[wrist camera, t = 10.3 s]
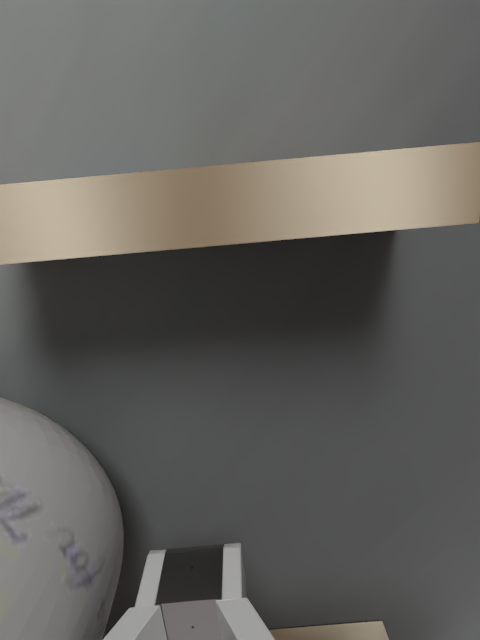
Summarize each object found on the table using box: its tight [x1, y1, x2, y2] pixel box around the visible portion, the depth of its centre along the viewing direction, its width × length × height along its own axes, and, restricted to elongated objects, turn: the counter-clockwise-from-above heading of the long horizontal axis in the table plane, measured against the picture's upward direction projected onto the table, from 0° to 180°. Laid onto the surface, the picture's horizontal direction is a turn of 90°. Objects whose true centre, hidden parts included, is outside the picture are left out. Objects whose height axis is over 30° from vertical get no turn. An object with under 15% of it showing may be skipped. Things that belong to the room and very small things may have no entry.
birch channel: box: [0, 142, 480, 640], centre depth 12 cm, size 12×21×4 cm, turn 5°
